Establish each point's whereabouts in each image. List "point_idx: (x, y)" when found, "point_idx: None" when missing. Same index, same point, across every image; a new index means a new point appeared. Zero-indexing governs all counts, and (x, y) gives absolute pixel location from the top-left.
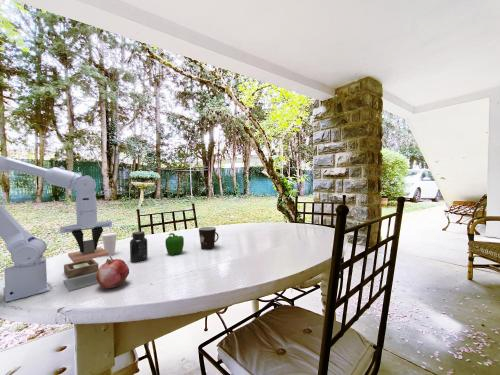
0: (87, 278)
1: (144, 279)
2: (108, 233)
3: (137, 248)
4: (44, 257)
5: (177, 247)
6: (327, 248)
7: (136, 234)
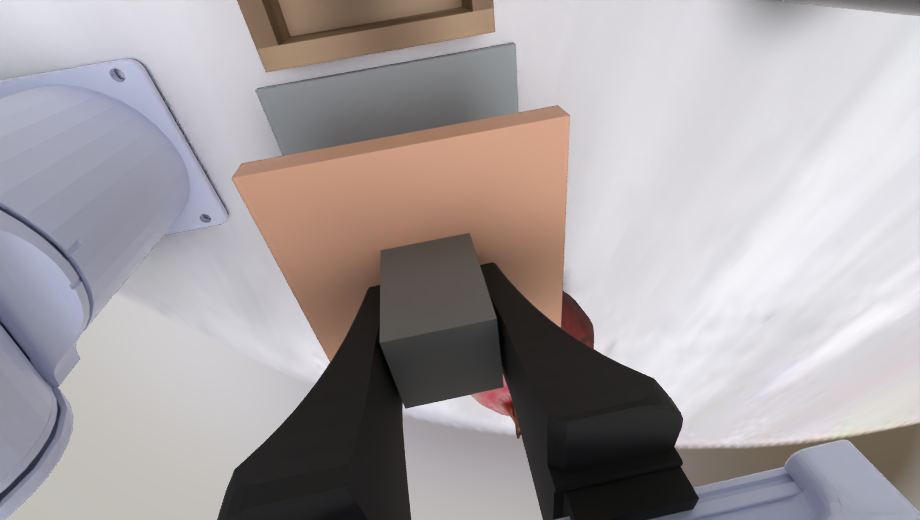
0: None
1: (615, 305)
2: None
3: (883, 7)
4: (12, 239)
5: None
6: None
7: None
